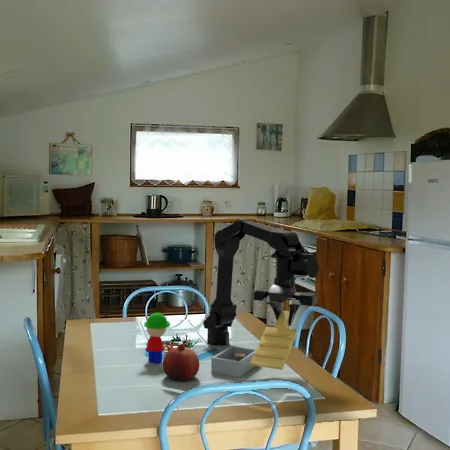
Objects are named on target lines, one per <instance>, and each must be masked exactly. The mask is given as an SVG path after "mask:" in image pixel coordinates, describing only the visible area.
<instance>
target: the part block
mask: <svg viewBox="0 0 450 450" xmlns="http://www.w3.org/2000/svg"><path fill="white" fill-rule="evenodd" d="M244 357H245V354H242V353H235V360H237V361H240V360H241V359H243V358H244Z"/></svg>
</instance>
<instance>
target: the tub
mask: <svg viewBox="0 0 450 450" xmlns="http://www.w3.org/2000/svg"><path fill="white" fill-rule="evenodd" d="M256 349H257V348H250V347H244V346H237V345H230V346H229V347H227V348H225V349H224V350H222V351H221V352H219V353H217V354H215V355H214V356H212V357H211V359H210V360H211V361H210V362H211V363H210V364H211V367H210V372H211V373H214V374H220V375H224V376H231V377H235V378H241V377H243V376H244V375H245V374H247V373H248V372H249V371H251V370H252V369H253V368H254V367H255V366H254V365H250V362H251V360H252V358H253V355H254V353H255V351H256ZM235 353H242V354H245V357H244V358H243V359H241V360H240V361H233V360H227V359H235Z"/></svg>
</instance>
